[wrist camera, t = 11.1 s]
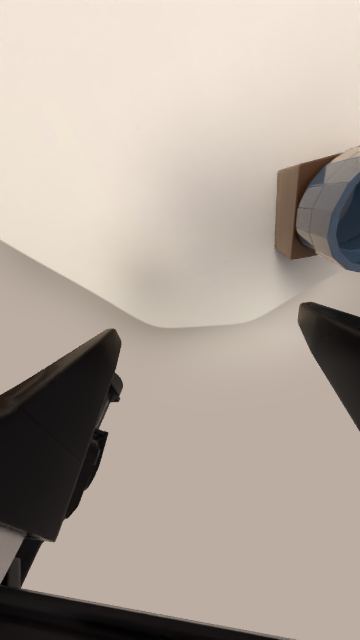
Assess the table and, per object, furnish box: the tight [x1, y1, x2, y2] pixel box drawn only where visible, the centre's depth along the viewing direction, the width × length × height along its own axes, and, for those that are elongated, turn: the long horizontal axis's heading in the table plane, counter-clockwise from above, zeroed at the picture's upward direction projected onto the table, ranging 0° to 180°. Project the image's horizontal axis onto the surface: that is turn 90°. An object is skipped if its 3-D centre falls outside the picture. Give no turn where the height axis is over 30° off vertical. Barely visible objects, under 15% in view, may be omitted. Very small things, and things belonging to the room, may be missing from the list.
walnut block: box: [275, 152, 344, 260], centre depth 14 cm, size 6×6×4 cm
